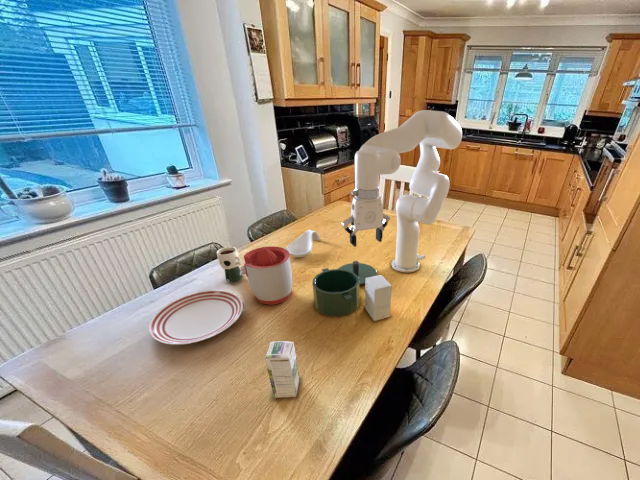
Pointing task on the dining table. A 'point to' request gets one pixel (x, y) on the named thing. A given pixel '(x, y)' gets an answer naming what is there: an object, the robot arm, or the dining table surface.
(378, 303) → the small box
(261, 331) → the dining table surface
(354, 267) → the lid
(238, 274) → the character mug
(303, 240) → the spoon rest
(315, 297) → the pot
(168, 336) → the dinner plate
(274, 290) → the citrus juicer
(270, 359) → the syrup box
